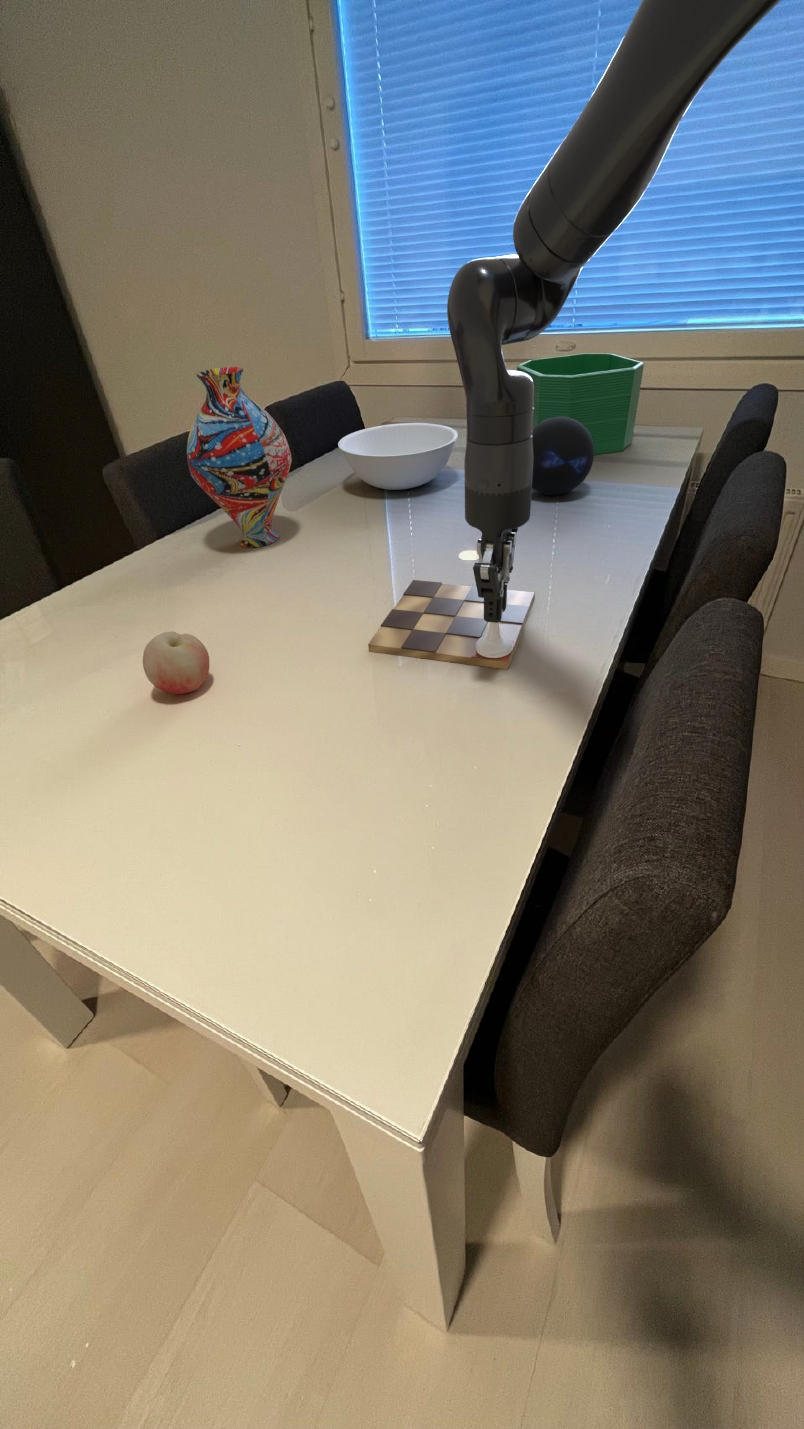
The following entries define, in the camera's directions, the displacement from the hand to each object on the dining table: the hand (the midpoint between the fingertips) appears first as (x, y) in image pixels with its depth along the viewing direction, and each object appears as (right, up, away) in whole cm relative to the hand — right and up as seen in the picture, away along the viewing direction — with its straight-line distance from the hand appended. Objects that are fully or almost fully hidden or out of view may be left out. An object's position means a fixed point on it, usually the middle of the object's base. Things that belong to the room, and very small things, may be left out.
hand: (495, 615), depth 78 cm
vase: (-41, +22, +44) cm, 64 cm away
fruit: (-42, -9, +4) cm, 43 cm away
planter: (+32, +58, +80) cm, 104 cm away
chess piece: (0, -4, +3) cm, 5 cm away
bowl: (-12, +42, +65) cm, 78 cm away
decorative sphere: (+21, +35, +52) cm, 66 cm away
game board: (-4, +1, +12) cm, 13 cm away
